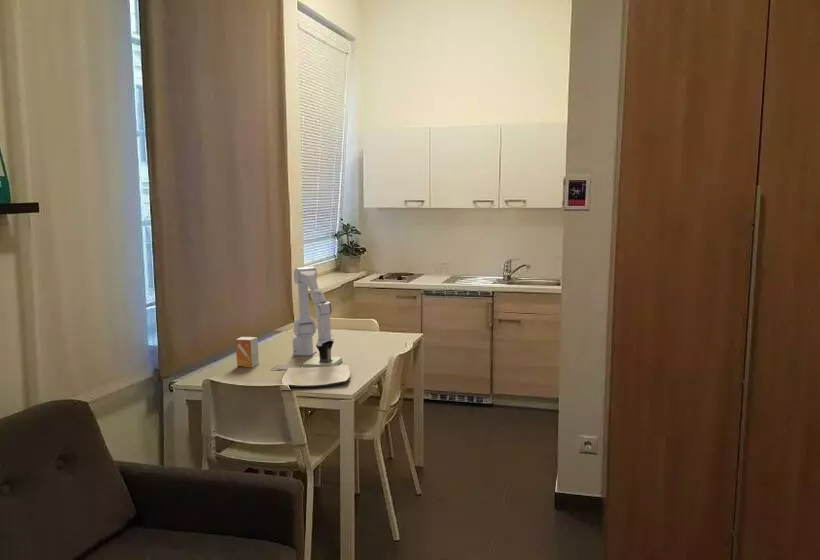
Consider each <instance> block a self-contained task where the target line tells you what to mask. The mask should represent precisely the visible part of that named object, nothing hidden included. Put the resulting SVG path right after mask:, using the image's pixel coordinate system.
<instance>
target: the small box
mask: <svg viewBox="0 0 820 560" xmlns="http://www.w3.org/2000/svg"><path fill="white" fill-rule="evenodd" d="M258 344H259V343H258V337H257V336H255V337H253V336H240V337H239V338H236V339H235V350H236V351H235V353H236V367H237V366H244V367H243V368H251V367H252V368H254V367H256V366H258V365H260V360H259V358H260V357H259V346H258ZM257 364H258V365H257ZM255 365H256V366H255ZM253 366H254V367H253Z"/></svg>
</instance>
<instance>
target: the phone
mask: <svg viewBox="0 0 820 560" xmlns="http://www.w3.org/2000/svg"><path fill="white" fill-rule="evenodd" d="M302 367H303V365H284V364H282V365H279V364H278V365H276V366H274V367H272V368H271V369H279V370H278V371H280V370H286V369H287V370H288V368H302Z"/></svg>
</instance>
